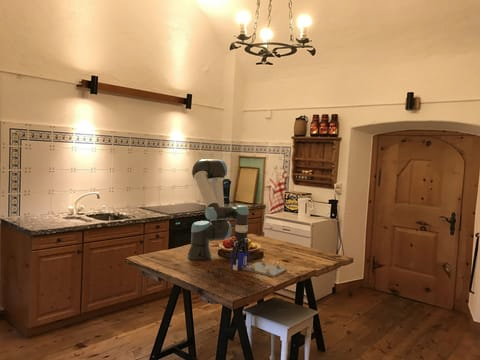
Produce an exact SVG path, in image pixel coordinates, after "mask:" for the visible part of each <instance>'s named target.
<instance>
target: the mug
mask: <svg viewBox="0 0 480 360" xmlns="http://www.w3.org/2000/svg"><path fill="white" fill-rule="evenodd" d="M229 254H230V255H229V256H230V257H229V258H230V268H231V269H233V259H231V255H232V250H230V253H229ZM244 255H248V256H247V257H248V258H247V262H246V265H243V259H244ZM237 259H238V267H237V270H240V269H242V268H243V267H245V266H246V267H248V266H249V264H250V259H251V254H250V253H249V254H245V253H244V252H243V251H242V249H240V251H239V254H238V257H237ZM242 265H243V266H242Z"/></svg>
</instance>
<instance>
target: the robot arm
mask: <svg viewBox="0 0 480 360" xmlns="http://www.w3.org/2000/svg"><path fill="white" fill-rule="evenodd" d="M227 174H228V167H227V164H226V162H225V161H224V160H222V159H204V158H202V159H199V160H197V161H196V162H195V163H194V164H193V167H192V171H191V175H192V178H193V180H194V181H195V182H196V184H197V187H198V190H199V192H200V195H201V196H202V199H203V203H204V204H205V207H206V208H205V211H204V214H205V218H206V220H200V221H199V220H198V221H194V222H193V223H192V225H191V230H190V232H191V233H190V235H191V236H190V246H189V249H188V253H187V258H188V259H189V260H191V261H202V262H203V261H209V260H211V258H212V252H211V249H210V242H214V241H224V240H228V239H230V237H231V235H232V231H233V229H232V224H231V223H230V221H229V220H235V225H234V226H235V227H234V239H236V240H235V241H233V242H232V250H231V251H232V255H231V259H233V268H232V270H233V271H238V269H237V267H238V259H237V257H238V254H239V251H240V250H241V251H243V252H244V253H245V254H250V249H249V238H248V228H249V215H250V212H249V206H248V205H245V204H244V205H243V204H239V205H236V206H235V205H228V206H225V200H224V199H225V198H224V186H223V184H224V183H223V181H224V180H225V177H227ZM247 257H249V256H248V255H244V259H243V265H247V260H248V258H247ZM243 265H242V267H244V268H246V267H247V266H243Z"/></svg>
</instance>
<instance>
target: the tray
mask: <svg viewBox="0 0 480 360" xmlns="http://www.w3.org/2000/svg"><path fill="white" fill-rule="evenodd" d="M280 265H281V264H280V262H278V261H277V262H276V264H275V265H272V264H268V263H266V259H265V258H262V259H261V262H259V261H256V262H255V263H251V264H250V265H247V266H246V267H244V269H243V270H244V271H247V272H251V273H256V274H259V275H264V276H268V277H272V278H275V277H277V276H279V275H281V274H282V273H283V274H284V273H285V272H286V271H287V268H285V267H281V266H280ZM284 271H285V272H284Z"/></svg>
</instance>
